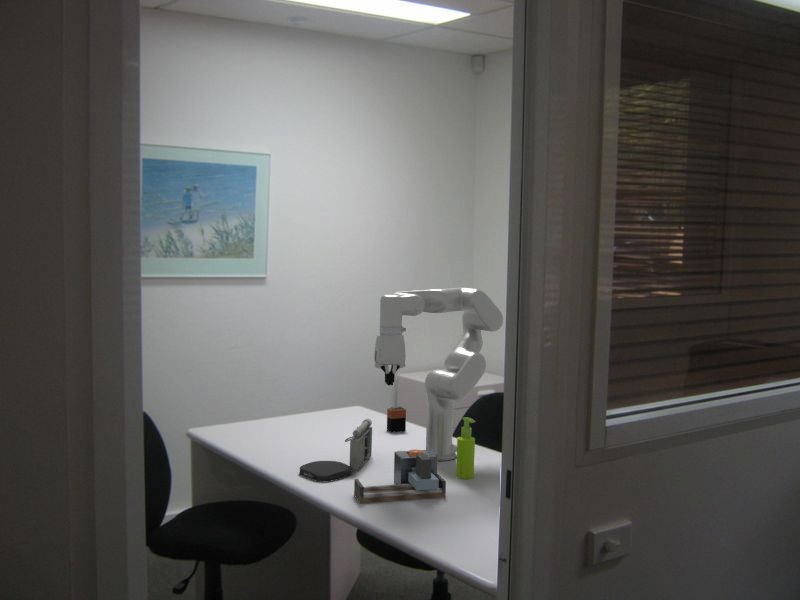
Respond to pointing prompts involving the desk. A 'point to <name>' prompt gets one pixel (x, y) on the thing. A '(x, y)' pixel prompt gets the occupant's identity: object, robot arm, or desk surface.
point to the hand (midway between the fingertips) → (389, 384)
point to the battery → (396, 419)
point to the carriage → (423, 474)
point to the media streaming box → (325, 470)
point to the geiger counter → (360, 445)
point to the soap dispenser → (465, 451)
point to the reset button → (415, 452)
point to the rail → (396, 492)
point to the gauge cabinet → (409, 465)
